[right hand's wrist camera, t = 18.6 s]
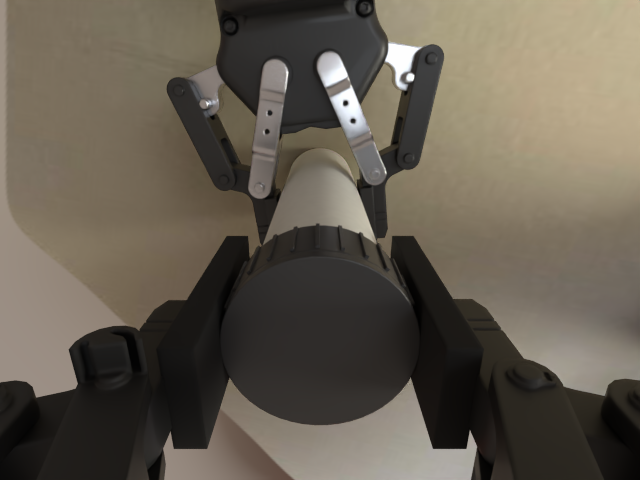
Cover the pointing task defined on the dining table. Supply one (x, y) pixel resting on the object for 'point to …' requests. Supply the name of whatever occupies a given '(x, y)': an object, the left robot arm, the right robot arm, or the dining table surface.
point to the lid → (320, 327)
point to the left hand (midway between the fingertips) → (325, 247)
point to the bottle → (320, 196)
